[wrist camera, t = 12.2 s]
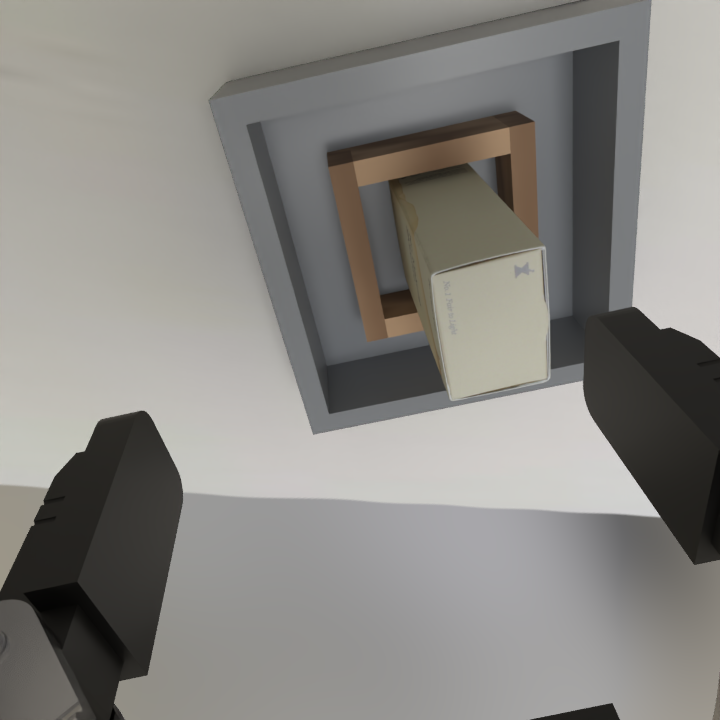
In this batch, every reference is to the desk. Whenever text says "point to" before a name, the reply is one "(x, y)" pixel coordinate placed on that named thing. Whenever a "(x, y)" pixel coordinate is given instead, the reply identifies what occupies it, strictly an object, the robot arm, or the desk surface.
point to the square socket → (418, 155)
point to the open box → (452, 106)
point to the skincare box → (473, 281)
